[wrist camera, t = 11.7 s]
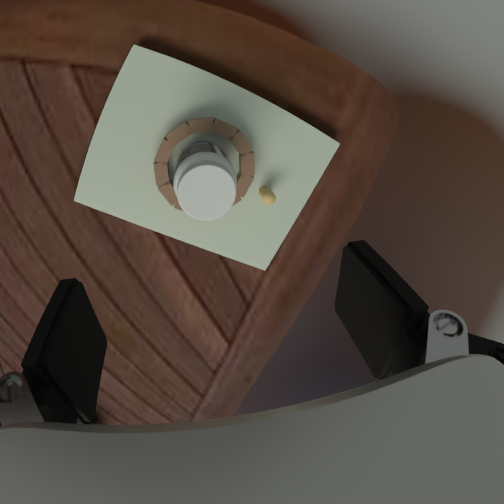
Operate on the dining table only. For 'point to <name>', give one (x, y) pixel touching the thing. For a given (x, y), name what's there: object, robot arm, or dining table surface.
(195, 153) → the pill bottle
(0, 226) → the dining table surface
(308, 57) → the dining table surface
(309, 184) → the socket board
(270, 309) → the dining table surface
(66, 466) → the robot arm
